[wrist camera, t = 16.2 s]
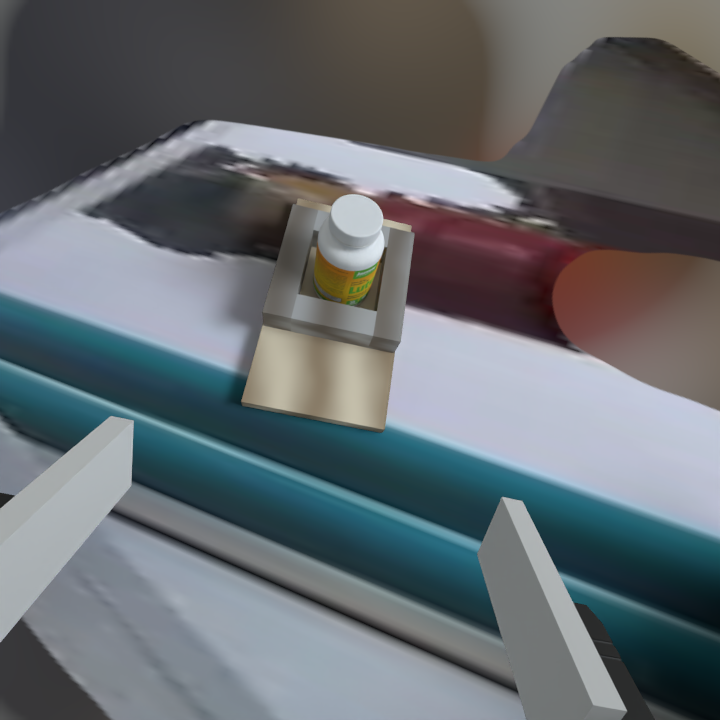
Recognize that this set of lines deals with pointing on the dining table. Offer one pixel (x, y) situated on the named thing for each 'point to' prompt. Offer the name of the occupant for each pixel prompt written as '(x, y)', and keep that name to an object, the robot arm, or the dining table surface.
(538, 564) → the robot arm
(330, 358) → the socket board
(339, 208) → the supplement bottle
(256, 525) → the dining table surface
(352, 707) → the dining table surface
